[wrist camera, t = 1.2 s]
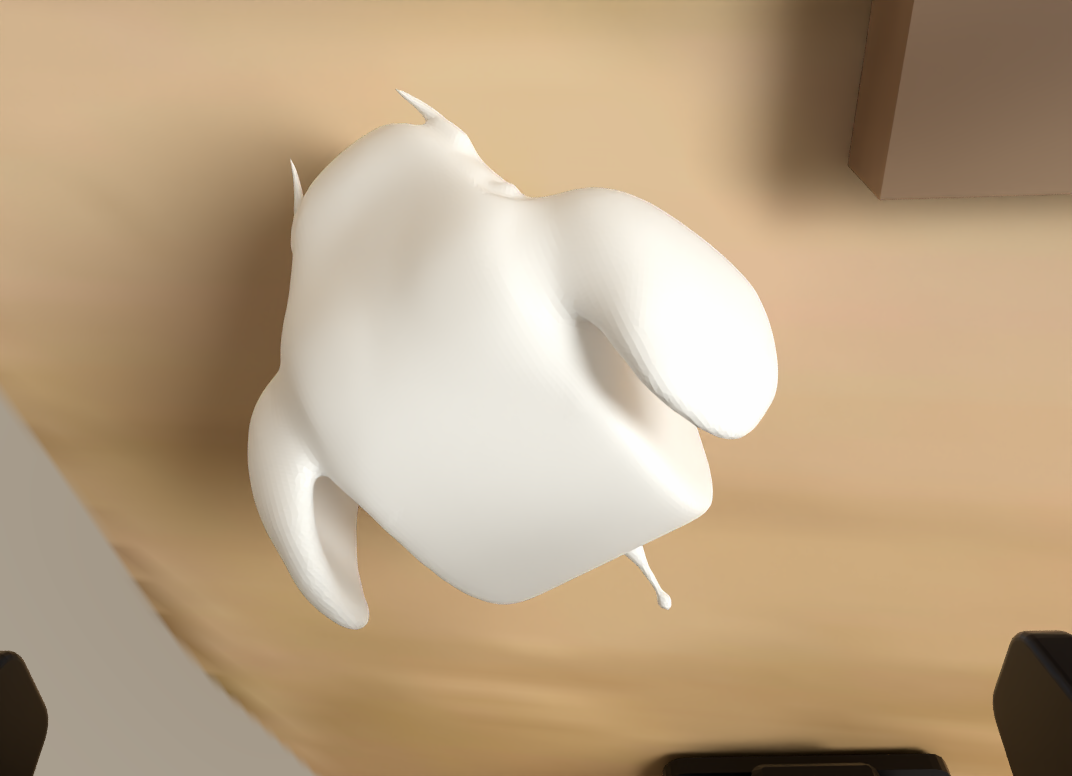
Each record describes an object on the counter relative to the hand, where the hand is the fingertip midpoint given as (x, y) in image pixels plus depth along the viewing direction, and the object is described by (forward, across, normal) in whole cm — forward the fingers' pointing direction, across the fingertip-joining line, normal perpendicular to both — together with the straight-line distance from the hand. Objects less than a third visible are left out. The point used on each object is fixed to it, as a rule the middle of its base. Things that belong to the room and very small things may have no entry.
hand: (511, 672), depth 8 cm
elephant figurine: (+8, 0, 0) cm, 8 cm away
